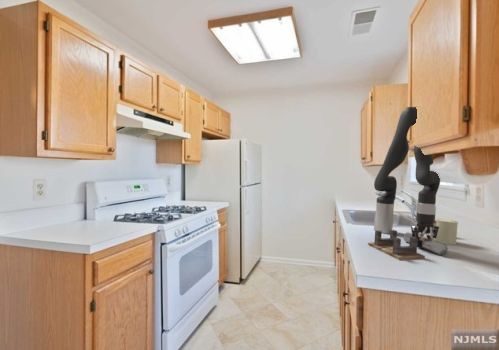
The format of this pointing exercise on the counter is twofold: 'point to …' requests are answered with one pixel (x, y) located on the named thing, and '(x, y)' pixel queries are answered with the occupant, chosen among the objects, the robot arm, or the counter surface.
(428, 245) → the tube
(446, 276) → the counter surface
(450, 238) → the can
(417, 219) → the robot arm
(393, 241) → the cradle stand
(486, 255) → the counter surface
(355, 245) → the counter surface
